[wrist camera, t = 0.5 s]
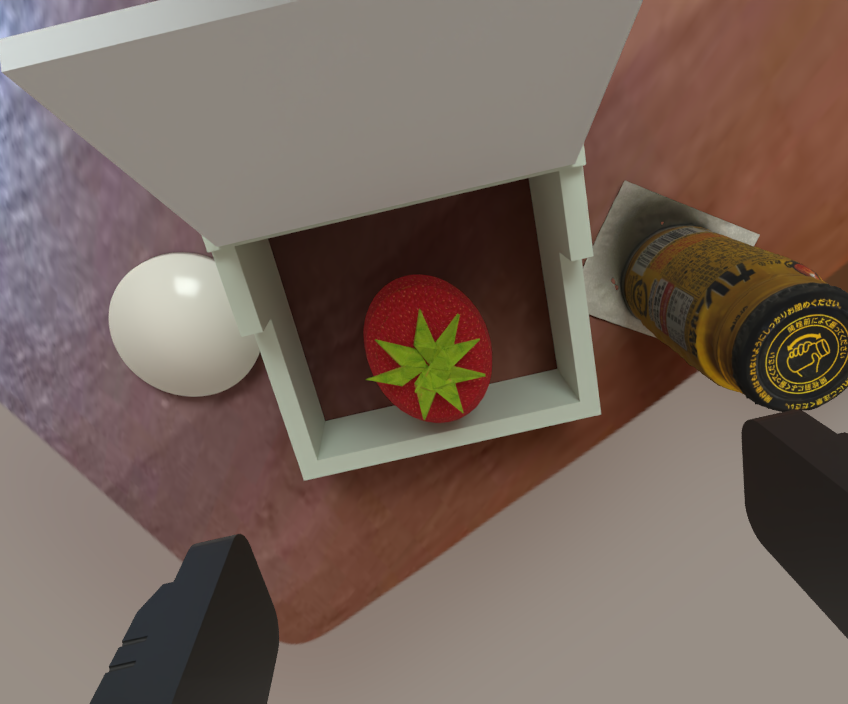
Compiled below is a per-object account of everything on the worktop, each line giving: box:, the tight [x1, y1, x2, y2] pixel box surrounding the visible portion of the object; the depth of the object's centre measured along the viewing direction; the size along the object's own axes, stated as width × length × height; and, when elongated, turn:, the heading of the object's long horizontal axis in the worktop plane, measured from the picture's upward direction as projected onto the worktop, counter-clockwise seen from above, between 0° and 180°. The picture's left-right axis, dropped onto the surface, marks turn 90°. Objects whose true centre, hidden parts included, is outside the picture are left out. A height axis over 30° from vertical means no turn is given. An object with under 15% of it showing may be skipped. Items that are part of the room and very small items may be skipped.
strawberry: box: [363, 274, 492, 423], centre depth 30 cm, size 6×8×10 cm
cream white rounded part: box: [109, 252, 260, 397], centre depth 33 cm, size 8×8×1 cm
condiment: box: [583, 181, 848, 412], centre depth 29 cm, size 7×8×12 cm
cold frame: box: [0, 0, 643, 481], centre depth 25 cm, size 20×16×18 cm
